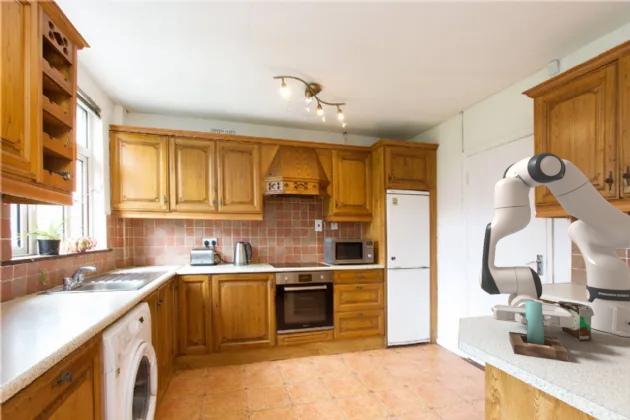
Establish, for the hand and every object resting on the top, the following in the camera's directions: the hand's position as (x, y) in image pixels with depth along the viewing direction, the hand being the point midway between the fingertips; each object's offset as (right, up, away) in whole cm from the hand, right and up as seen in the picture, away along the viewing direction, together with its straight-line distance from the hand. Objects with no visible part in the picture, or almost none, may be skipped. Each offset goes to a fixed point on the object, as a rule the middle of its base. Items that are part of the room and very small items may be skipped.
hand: (535, 322), depth 88 cm
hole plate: (+1, -8, 0) cm, 8 cm away
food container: (+22, -9, +10) cm, 26 cm away
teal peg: (0, -7, 0) cm, 7 cm away
